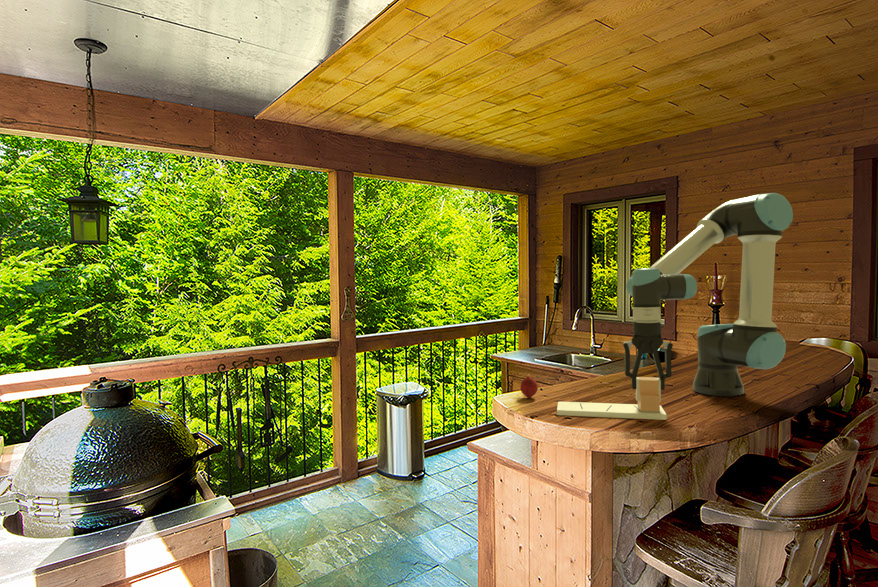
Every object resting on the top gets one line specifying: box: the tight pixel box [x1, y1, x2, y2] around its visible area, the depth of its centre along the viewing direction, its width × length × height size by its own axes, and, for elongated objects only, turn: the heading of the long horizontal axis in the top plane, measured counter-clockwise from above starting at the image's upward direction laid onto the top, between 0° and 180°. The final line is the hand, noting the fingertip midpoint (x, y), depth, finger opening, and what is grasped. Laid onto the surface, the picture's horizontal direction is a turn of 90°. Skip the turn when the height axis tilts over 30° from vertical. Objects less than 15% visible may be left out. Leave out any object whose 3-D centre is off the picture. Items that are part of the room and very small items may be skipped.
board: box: [556, 401, 667, 421], centre depth 146 cm, size 30×10×2 cm, turn 74°
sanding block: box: [637, 376, 661, 413], centre depth 142 cm, size 5×8×9 cm, turn 164°
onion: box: [520, 374, 538, 399], centre depth 166 cm, size 6×6×8 cm
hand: (648, 400), depth 142 cm, fingers closed on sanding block, 5 cm apart
